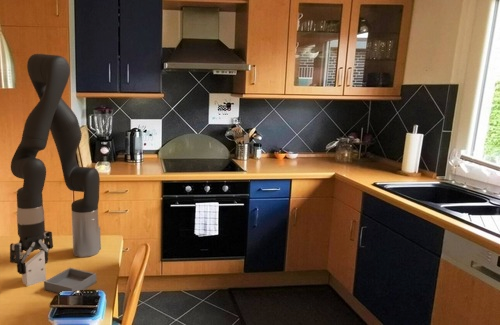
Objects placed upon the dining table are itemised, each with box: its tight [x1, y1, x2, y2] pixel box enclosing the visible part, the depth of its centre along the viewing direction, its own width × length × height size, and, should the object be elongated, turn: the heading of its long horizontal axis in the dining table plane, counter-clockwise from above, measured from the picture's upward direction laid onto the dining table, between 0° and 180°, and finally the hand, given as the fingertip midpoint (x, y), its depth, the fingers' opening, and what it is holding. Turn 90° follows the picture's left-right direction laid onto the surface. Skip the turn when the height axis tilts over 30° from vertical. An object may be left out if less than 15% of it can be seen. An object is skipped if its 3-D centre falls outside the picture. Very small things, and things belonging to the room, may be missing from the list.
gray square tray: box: [43, 267, 98, 295], centre depth 126 cm, size 11×11×3 cm
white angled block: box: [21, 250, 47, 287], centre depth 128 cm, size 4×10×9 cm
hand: (33, 268), depth 127 cm, fingers open, 8 cm apart
